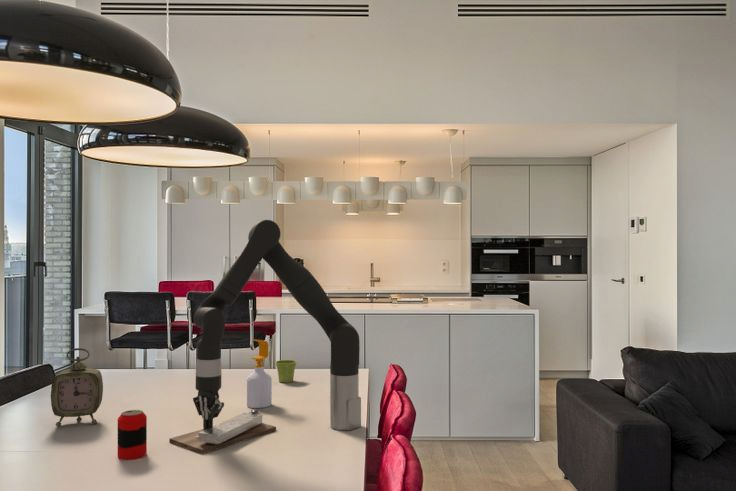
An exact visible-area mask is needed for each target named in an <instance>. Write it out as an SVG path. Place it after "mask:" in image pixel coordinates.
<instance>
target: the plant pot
mask: <svg viewBox="0 0 736 491" xmlns="http://www.w3.org/2000/svg"><path fill="white" fill-rule="evenodd" d="M297 363H298V362H297V360H294V359H281V360H276V361H275V366H276V370H277V376H278V381H279V383H285V384H287V383H291V382H294V376H295V368H296V364H297Z"/></svg>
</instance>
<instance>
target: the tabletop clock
mask: <svg viewBox="0 0 736 491" xmlns="http://www.w3.org/2000/svg"><path fill="white" fill-rule="evenodd" d="M74 351H84V352H85V353H87V356H85V357H84V358H83V357H82V358H80V356H76V357H75V358H71V357H70V356H69V354H70V353H71V352H74ZM89 357H90V352H89V350H87V349H85V348H82V347H77V348H72V349H70V350H69V351H67V353H66V358H67V360H69V361H72V362H73V363H72V364H71V365H70V366H69V368H68V369H64V370H62V371H59V373H57V374H56V375H55V376H54V377H53V380H52V382H51V391H50V402H51V403H50V404H51V409H52V410H51V411H52V412H53V414H54V416H57V417H60V418H59V420H58V421H57V422H55V427H56V428H59V427H61V426H62V423H61V422H62V421H63V419H64V418H76V417H77V418H76V422H77V423H81V422H82V417H85V416H89V417H90V418H91V425H96V424H97V422H98V421H97V419H96V418H94V413H96V412H97V411H98V409H100V407H101V405H102V400H103V394H104V382H103V375H102V372H101V370H100V369H98V368H94V367H93V368H91V367H87V365H86V363H85V362H83V361H85V360H87V359H89Z"/></svg>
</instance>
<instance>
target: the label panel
mask: <svg viewBox="0 0 736 491" xmlns="http://www.w3.org/2000/svg"><path fill="white" fill-rule="evenodd" d="M202 431H204V430H203V429H199V430H195V431H191V432H188V433H184V434H181V435H178V436H177V435H176V436H174V437H173V436H172V437H171V438H169V440H168V441H169V444H173V445H176V446H178V447H181V448H184V449H186V450H190V451H192V452H195V453H198V454H200V455H203V454H205V453H209V452H213V451H215V450H216V451H217V450H219V449H221V448H224V447H228V446H231V445H235V444H237V443H240V442H244V441H247V440H250V439H254V438H257V437H259V436H263V435H267V434H269V433H273V432H276V431H277V426H275V425H272V424H268V423H264V422H262V423H260V424H258V425H256V426H254V427H252V428H250V429H248V430H246V431H244V432H242V433H240V434H238V435H236V436H234V437H232V438H230V439H228V440H226V441H224V442H222V443H220V444H214V443H207V442H200V441H199V432H202Z"/></svg>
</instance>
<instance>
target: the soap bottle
mask: <svg viewBox="0 0 736 491" xmlns="http://www.w3.org/2000/svg"><path fill="white" fill-rule="evenodd" d="M252 341H254V342H258V355H256V356H253V357H251V359H252V360H255V362H256V364H254V371H253V372H252V373H250V374H249V375H248V376H247V378H246V407H248V408H251V409H264V408H268V407H270V406H272V399H273V398H272V390H273V388H272V382H273V381H272V375H270V374H269V373H268V372H266V371H265V365H264V364H262V362H263V361H264V360H265V359H268V357H269V342H268V341H266V340H263V339H256V338H254V339H253V338H252Z"/></svg>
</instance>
